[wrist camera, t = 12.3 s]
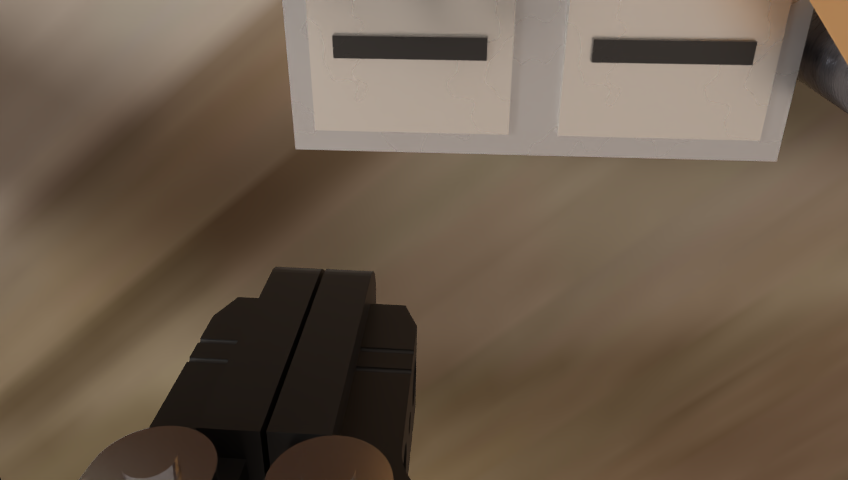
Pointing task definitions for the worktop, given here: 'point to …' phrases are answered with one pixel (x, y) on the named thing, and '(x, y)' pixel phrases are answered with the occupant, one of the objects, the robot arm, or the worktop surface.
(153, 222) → the worktop surface
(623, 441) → the worktop surface
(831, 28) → the light brown wooden bar
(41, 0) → the worktop surface
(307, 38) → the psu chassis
